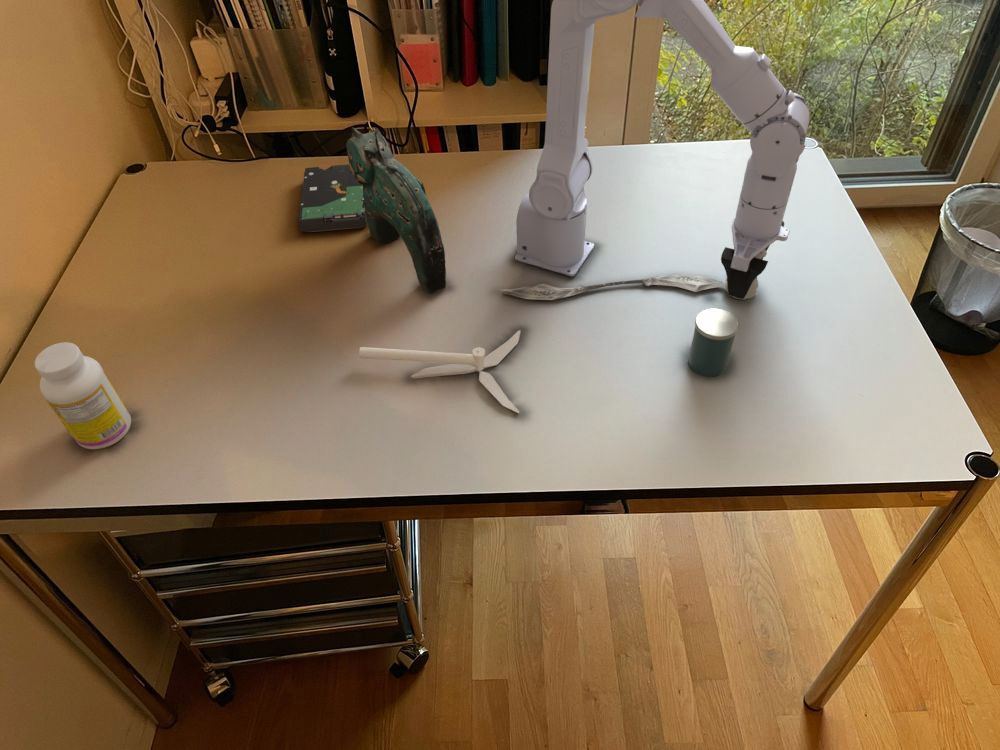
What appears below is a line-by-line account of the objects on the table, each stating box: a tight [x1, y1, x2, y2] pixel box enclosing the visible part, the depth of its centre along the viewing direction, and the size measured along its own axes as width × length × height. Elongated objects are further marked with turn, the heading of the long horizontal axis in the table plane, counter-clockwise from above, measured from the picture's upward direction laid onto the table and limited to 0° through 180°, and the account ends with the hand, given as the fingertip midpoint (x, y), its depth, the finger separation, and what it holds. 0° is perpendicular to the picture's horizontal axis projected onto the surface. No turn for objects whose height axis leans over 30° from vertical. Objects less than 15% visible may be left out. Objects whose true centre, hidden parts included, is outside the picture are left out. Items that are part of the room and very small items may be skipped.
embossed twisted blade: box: [498, 273, 725, 301], centre depth 108 cm, size 32×1×5 cm
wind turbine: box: [358, 330, 522, 414], centre depth 99 cm, size 4×14×21 cm
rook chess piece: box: [723, 248, 768, 300], centre depth 104 cm, size 4×4×8 cm
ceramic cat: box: [345, 127, 447, 295], centre depth 108 cm, size 20×6×20 cm, turn 33°
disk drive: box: [298, 164, 368, 233], centre depth 125 cm, size 10×3×15 cm
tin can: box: [688, 307, 739, 377], centre depth 96 cm, size 5×5×7 cm
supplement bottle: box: [34, 341, 132, 450], centre depth 90 cm, size 7×7×13 cm
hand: (743, 281), depth 106 cm, fingers open, 6 cm apart
